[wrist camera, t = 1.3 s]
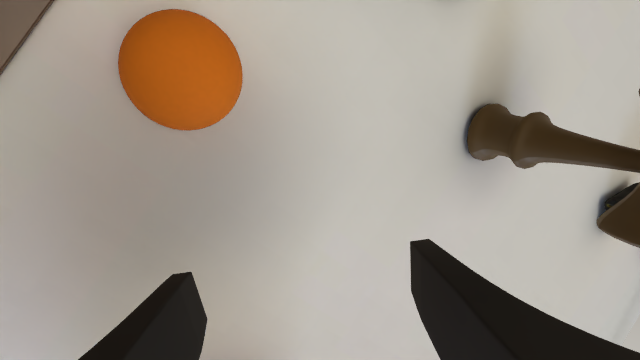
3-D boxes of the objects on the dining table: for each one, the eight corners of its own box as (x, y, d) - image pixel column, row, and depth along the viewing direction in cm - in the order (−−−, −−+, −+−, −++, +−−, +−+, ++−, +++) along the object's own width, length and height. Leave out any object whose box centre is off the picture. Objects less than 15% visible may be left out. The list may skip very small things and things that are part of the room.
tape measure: (629, 177, 47) (664, 185, 44) (621, 219, 50) (654, 230, 46) (598, 195, 45) (633, 205, 41) (592, 238, 47) (625, 251, 44)
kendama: (517, 81, 32) (957, 99, 14) (490, 181, 34) (839, 298, 17) (473, 72, 29) (949, 80, 12) (447, 181, 31) (810, 320, 14)
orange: (98, 80, 18) (81, 85, 13) (161, -8, 18) (167, -35, 13) (194, 140, 21) (209, 162, 16) (248, 64, 21) (278, 64, 16)
